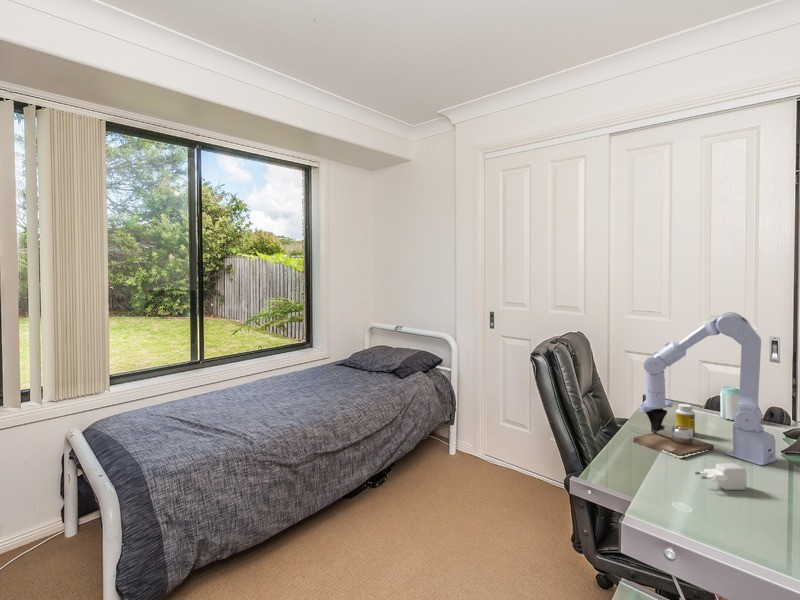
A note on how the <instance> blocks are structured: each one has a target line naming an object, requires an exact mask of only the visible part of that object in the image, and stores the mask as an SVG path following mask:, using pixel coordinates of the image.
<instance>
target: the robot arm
mask: <svg viewBox="0 0 800 600" xmlns="http://www.w3.org/2000/svg"><path fill="white" fill-rule="evenodd" d="M719 334H723V335H724V336H727V337H729V338H731V339H733V340H734V341H735V342H737V343H738V344H739V345H740V346H741V349H740V370H739V371H740V373H739V387H738V388H739V402H738V406H737V407H736V413H735V414H734V417H733V419H734V421H733V423H732V448H733V449H732V450H731V451H728V452H727V451H726V453H725V454H726V455H727V456H731V457H734V458H737V459H740V460H744V461H746V462H750V463H752V464H755V465H759V466H764V465H767V464H771V463H774V462H776V461H778V458H777V457H776V456H777V455H776V439H775V436H774V435H773V434H772V433H769V432H767V431H765V430H764V428H765V427H764V426H762V425H761V424H762V416H763V414H762V413H763V412H762V410H761V408H760V406H759V392H760V391H759V389H760V373H761V371H760V369H761V356H762V355H761V352H762V339H761V338H762V337H760V335H759V334H758V332H756V331H755V329H754V327H753V326H752V325H751V323H750V322H749V321H748V320H747V319H746V318H745V317H744V316H742V315H740V314H739V313H736V312H734V311H733V312H731V311H730V312H725V313H723V314H721V315H720V316H719V317H714V318H713V319H711V320H709V321H708V322H705V323H704V324H702V325H701V326H699V327H698V328H697V329H696V330H695V329H694V331H693V332H692V333H690V334H688V335H687V336H686V337H685V338H683V339H681V340H680V341H671V342H669V341H668V342H666V343H665V344H664V346H663V347H662V348H661V349H659V350H658V351H654V352H653V353H652V355H651V356H649V357H647V358H646V359H645V361H644V362H643V369H644V370H645V400H644V401H643V404H641V405H638V407H637V411H638V412H639V413H642V414H646V415H647V418H648V419H649V420H648V421H650V427H651V426H652V429H653V430H655V431H660V428H661V424H663V422H664V419H665V417H666V415H667V414H668V410H666V409H667V408H673V407H674V403H673V400H667V399H666V378H665V370H666V368H667V367H670V366H672V365H673V364H675V363H677V362H678V361H680V360H682V359H683V358H684V357H686V355H687V350H688V349H690V348H691V347H693V346H694V345H696V344H697V343H699V342H701V341H702V340H703V339H706V338H707V337H709V336H710V337H711V336H719Z"/></svg>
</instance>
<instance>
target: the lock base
mask: <svg viewBox="0 0 800 600" xmlns="http://www.w3.org/2000/svg"><path fill="white" fill-rule="evenodd" d="M632 439H633V440H632V441H633V443H635V444H638V445H640V446H643V447H646V448H649V449H651V450H655V451H657V452H660V451H662V450H664V451H667V452H669V453H672V454H675V455H677V456H685V455H688V454H693V453H697V452H702V451H706V450H711V451H713V450H712V449H714V450H715V445H714V444H711V443H709V442H705V441H702V440H699V439H697V438H693V443H692V444H680V443H676V442H674V441H673V440H672V438H669V437H666V436H663V435H660V434H656V433H653V432H651V433H647V434H642V435H639V436H635V437H633V438H632ZM660 453H661V452H660Z"/></svg>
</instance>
